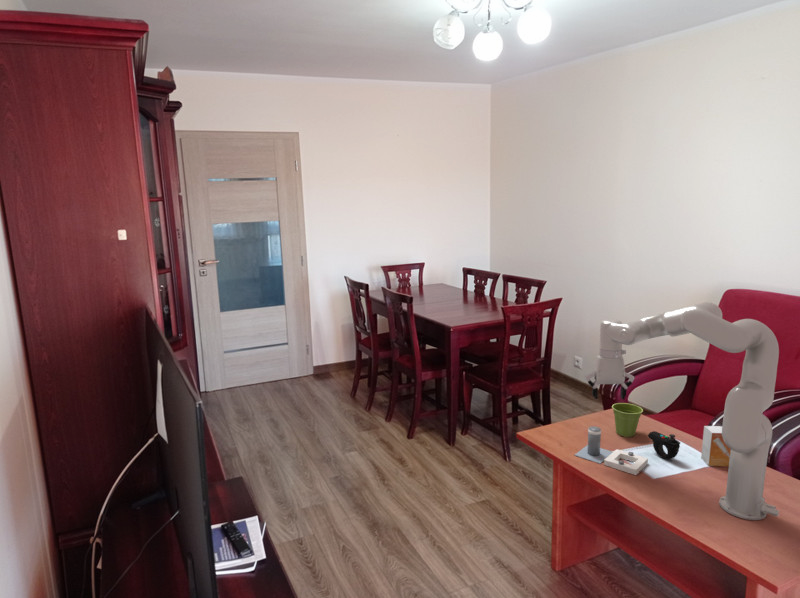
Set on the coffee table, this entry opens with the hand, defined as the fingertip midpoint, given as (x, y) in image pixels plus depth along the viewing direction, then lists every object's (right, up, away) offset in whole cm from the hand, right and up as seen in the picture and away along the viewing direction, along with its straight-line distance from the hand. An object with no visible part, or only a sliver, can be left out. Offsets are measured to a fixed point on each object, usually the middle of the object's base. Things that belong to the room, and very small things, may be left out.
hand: (608, 398), depth 199 cm
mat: (-3, -23, +7) cm, 24 cm away
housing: (+6, -24, -2) cm, 25 cm away
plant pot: (+16, -19, +24) cm, 35 cm away
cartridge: (-3, -22, +6) cm, 23 cm away
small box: (+39, -24, -1) cm, 45 cm away
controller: (+22, -23, +4) cm, 32 cm away
